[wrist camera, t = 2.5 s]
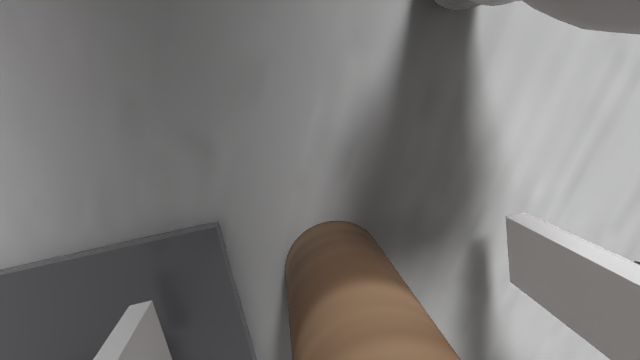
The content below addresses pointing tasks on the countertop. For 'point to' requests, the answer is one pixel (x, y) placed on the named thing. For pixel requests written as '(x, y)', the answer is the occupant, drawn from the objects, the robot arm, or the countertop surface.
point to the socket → (126, 299)
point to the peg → (354, 301)
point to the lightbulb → (574, 12)
